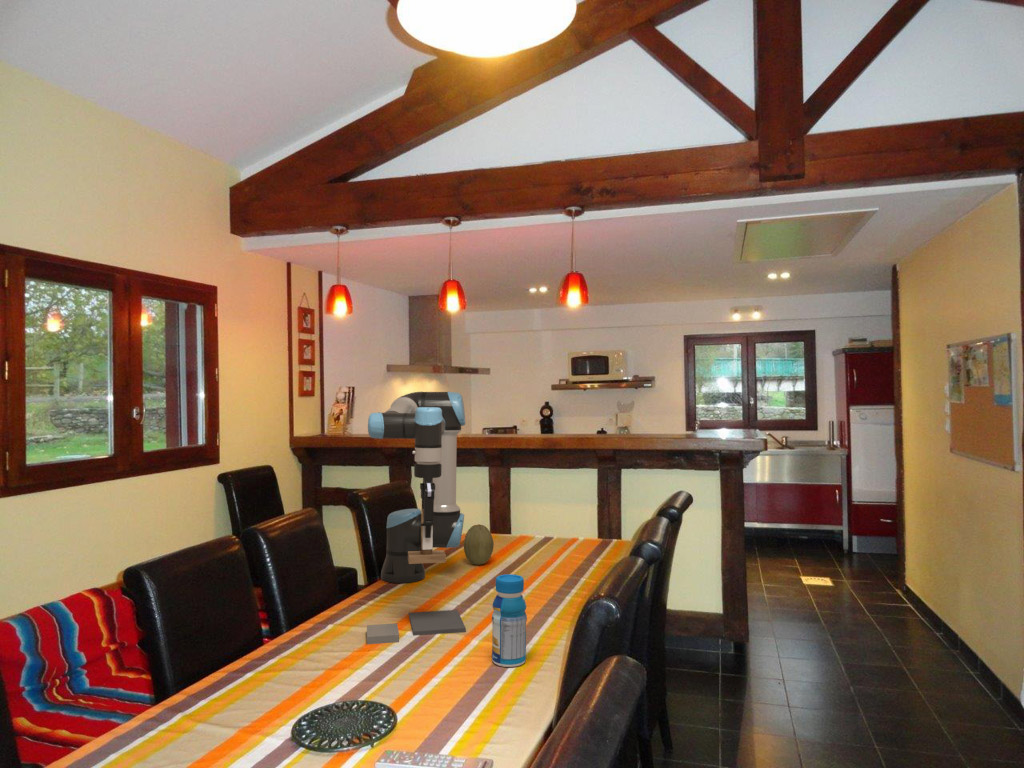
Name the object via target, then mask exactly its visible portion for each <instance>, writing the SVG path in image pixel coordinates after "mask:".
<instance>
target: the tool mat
mask: <svg viewBox="0 0 1024 768" xmlns="http://www.w3.org/2000/svg"><path fill="white" fill-rule="evenodd" d="M408 618H409V622H410V626H411V632H412V636H423V635H425V636H426V635H427V636H428V635H438V634H453V633H456V634H457V633H466V632H467V631H466V630H467V628H466V626H465V623H464V622H463V619H462V617H461V614H460V613H459V610H458V609H450V610H432V611H431V610H429V611H415V612H413V611H412V612H408Z"/></svg>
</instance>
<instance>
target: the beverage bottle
mask: <svg viewBox="0 0 1024 768" xmlns="http://www.w3.org/2000/svg"><path fill="white" fill-rule="evenodd" d="M524 587H525V581H524V577H523V576H522V575H518V574H514V573H513V574H511V573H510V574H509V573H508V574H500V575H498V576H496V577H495V591H496V593H497V594H496V595H495V597H494V599H493V603H492V606H491V608H492V610H493V612H492V613H491V622H492V623H491V624H492V625H491V628H492V631H491V634H492V635H491V642H492V643H491V652H492V653H491V660H492V662H493V663H494V664H495V665H497V666H499V667H503V668H504V667H505V668H515V667H519V666H521V665H523V664H524V663H526V660H527V654H526V653H527V652H526V651H527V649H526V648H527V647H526V646H527V645H526V644H527V621H528V614H527V612H526V609H527V603H526V599H525V598H524V596H523V593H524Z"/></svg>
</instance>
